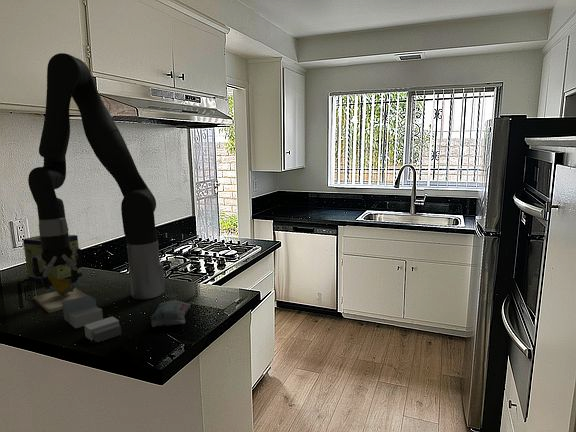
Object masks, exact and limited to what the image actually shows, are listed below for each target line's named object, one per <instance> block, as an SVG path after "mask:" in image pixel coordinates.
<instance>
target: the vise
mask: <svg viewBox="0 0 576 432" xmlns="http://www.w3.org/2000/svg"><path fill="white" fill-rule="evenodd" d="M86 295H87V294H86ZM62 304H63V309H62V310H63V320H65V321H66V322H67V323H68V324H70V325H71V326H72V327H73V328H74V329H78V328H82V327H84V335H85V336H84V337H85V338H87V340H89V339H90V340H91V341H90V340H89V341H90V342H94V343H96V342H99V343H101V342H100V341H102V342H105V341H107V339H108V340H110V338H111V339H114V338H116V336H117V337H119V335H120V336H122V325H120V320H119V319H117V318H116V317H114V316H109V317H107V318H104V315H103V314H104V313H103V309H102V308H100V307H98V306H97V301H96V298H95V297H93V296H91V295H89V294H88V295H87V296H83V297H79V298H76V299H72V300H68V301H64V302H62ZM113 337H114V338H113ZM92 340H94V341H92ZM104 340H105V341H104Z"/></svg>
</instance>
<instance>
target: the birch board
mask: <svg viewBox="0 0 576 432" xmlns="http://www.w3.org/2000/svg"><path fill="white" fill-rule="evenodd" d="M73 291H74V292H68V293H67V294H66V295H64V296H62V295H60V294H58V291H57V290H56V291H55V290H54V291H52V292H47V293H44V294H40V295H36V296H33V301H34V302H36V303H37V305H39V306H40V307H41V308H43V310H44V311H46V312H47V313H49V314H50V313H54V312H57V311H61V310H63V304H62V302H64V301H68V300H72V299H76V298H79V297H83V296H87V294H86V293H84V292H83V291H81V290H80V289H78V288H77V287H75V288H74V290H73Z"/></svg>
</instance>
